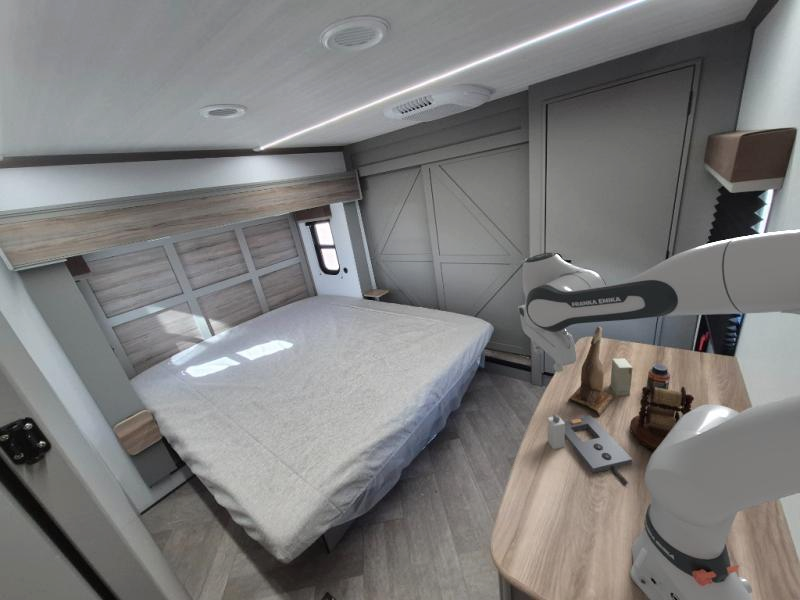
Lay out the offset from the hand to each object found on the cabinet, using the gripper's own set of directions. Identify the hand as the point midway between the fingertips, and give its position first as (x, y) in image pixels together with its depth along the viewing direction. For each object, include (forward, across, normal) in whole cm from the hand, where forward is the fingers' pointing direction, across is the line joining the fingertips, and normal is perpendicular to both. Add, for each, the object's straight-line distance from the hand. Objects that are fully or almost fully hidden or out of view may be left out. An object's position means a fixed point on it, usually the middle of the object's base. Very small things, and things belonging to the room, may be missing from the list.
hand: (548, 361), depth 83 cm
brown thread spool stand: (+38, -1, -33) cm, 50 cm away
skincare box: (+37, +21, -38) cm, 57 cm away
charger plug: (+36, +5, -3) cm, 36 cm away
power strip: (+37, 0, -13) cm, 39 cm away
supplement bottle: (+38, +16, -48) cm, 63 cm away
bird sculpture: (+37, +19, -25) cm, 48 cm away
